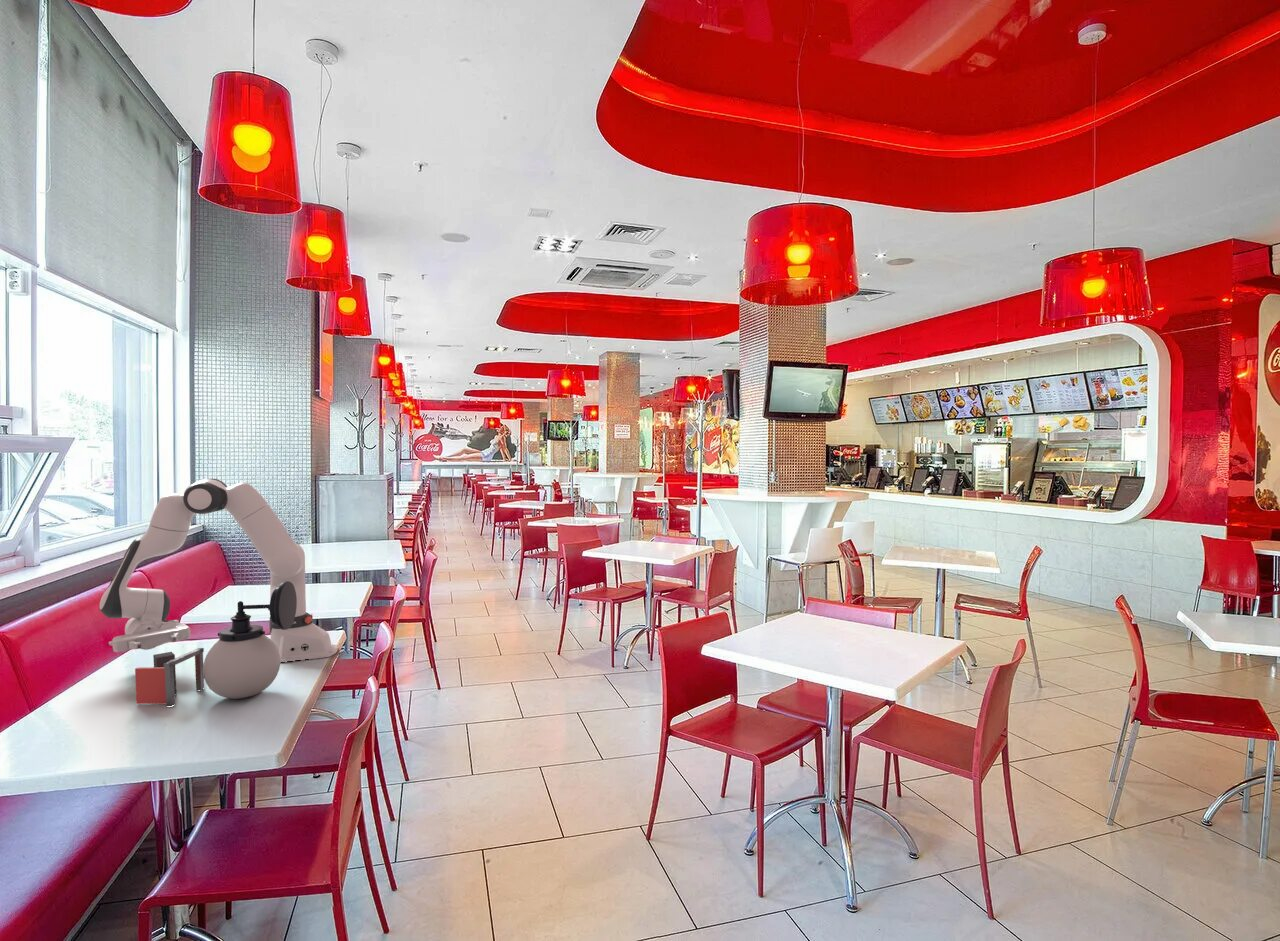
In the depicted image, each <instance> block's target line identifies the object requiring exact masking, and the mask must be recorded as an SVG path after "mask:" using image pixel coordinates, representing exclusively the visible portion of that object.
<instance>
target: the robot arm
mask: <svg viewBox="0 0 1280 941" xmlns="http://www.w3.org/2000/svg"><path fill="white" fill-rule="evenodd" d="M268 503H269V502H268V501H266V499H265V498H264V497H263V496H262V495H261V493H259V491H258V490H257V489H255V488H254V487H253V485H251V484H249V483H248V482H238V483H235V484H233V485H231V486H228V485H226V483H225V482H223V481H222V480H219V479H218V478H206V479H200V480H197V481H195V482H193V483H192V484H190V485H189V486H188V487H187V488H186V489H185V490H184V492H183V494H180V493H168V494H164V495H163V496H161V498H160V499H159V500H158V502H157V504H156V506H155V508H154V511H153V513H152V516H151V518H150V523H149V525H148V528H147V530H146V531H145V532H144V534H143V535H142V536H140V537H139V538H136V539H134V540H133V541H131V543H130V545H129V546H128V548H127V549H126V552H125V553H124V555H123V557H122V558H121V561H120V562H119V565H118V566H117V569H116V571H115V573H114V575H113V577H112V579H111V581H110V583H109V584H108V586H107V588H106V590H105V591H104V592H103V594H102V596H101V597H100V598H101V599H100V601H99V611H100V613H102V614H103V615H104V616H105V617H106V618H108V619H122V618H124V619H125V618H126V619H128V620H127V622H126V623H125V626H124V634H122V635H117V636H114V637H113V638H112V640H111V641H108V644H109V646H112V651H113V652H114V653H120V652H127V651H132V650H139V649H140V650H144V651H145V650H152V649H155V648H156V647H159V646H163V645H164V644H168V643H176V642H179V641H182V640H183V641H184V640H188V639H190V638H191V628H190V626H189V625H187V624H185V623H183V622H180V621H179V620H178V619H172V620H171V619H169V620H167V619H168V617H169V613H170V608H171V599H170V597H169V595H168V593H167V592H166V591H165V590H164V589H159V588H148V587H147V588H142V587H128V586H127V585H129V584H128V583H129V582H130V579H131V578H132V576H133V573H134V572H135V569H136V568H137V566H138V565H139V564H140V563H141V562H143V561H144V560H148V559H150V558H151V559H152V558H154V557H159V556H165V555H168V554H171V553H174V552H176V551H178V550H179V549H180V548H181V547H182V546H183V545H184V544H185V542H186V540H187V538H188V534H189V531H190V530H189V529H190V527H191V524H192V523H191V522H192V520H193V518H194V516H195V515H196V514H199V515H207V514H210V513H211V514H212V513H214V512H215V513H216V512H219V511H223V510H225V511H226V512H228V513H229V514H230V515H231V516H232V517H233V519H234V520H235V521H236V523H237V524H238V525H239V527H240V528H241V529H242V531H243V532H244V533H245V535H246V536H247V538H248V539H249V540H250V542H251V543H252V545H253V546H254V548H255V550H256V551H257V553H258V554H259V556H260V557H261V559H262V560H263V563H264V564H265V565H266V566H267V568H268V569H269V571H270V572H269V573H270V575H269V576H270V582H269V583H270V589H269V597H270V598H269V600H270V599H271V595H272V593H273V591H274V590H275V588H276V587H277V586H280V585H281V584H282V583H283V582H285V581H289V582H291V583H292V584H293V585H294V588H295V591H296V597H297V607H296V614H295V618H294V621H293V624H292V626H291V627H290V628H289V629H287V630H282V629H280V628H279V627H278V626H276V625H274V623H273V622H272V620H271V617H270V616H269V619H268V625H269V626H268V627H269V633H270V636H269V637H270V638H269V639H270V640H272V641H273V643H274V644H275V645H276V647H277V649H278V651H279V654H280V663H281V662H285V663H287V662H286V661H293V662H296V661H295V660H301V661H306V660H305V659H309V660H317V659H323V658H329V657H332V656H333V655H335V654H336V653H337V652H338V650H339V647H338V645H337V644H335V643H333V644H332V641H331V636H330V634H329V632H328V631H326V630H325V629H323V628H321V627H320V626H318V625H316V624H314V623H313V621H314V620H313V616H314V615H313V613H311V614H310V613H308V612H307V601H306V597H307V596H306V555H305V550H304V548H303V547H302V546H301V544H299V543H297V542H294V540H293V538H292V537H291V535H290V534H289V533H288V531H287V529H286V528H285V525H284V524H283V523H282V521H281V519H280V518H279V517H278V516H277V513H275V512H274V510H273V509H272V507H271V506H270V504H268Z"/></svg>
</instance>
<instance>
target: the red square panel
mask: <svg viewBox="0 0 1280 941" xmlns="http://www.w3.org/2000/svg"><path fill="white" fill-rule="evenodd" d="M134 672H135V700H136V704H137V705H138V704H140V705H141V704H143V705H145V704H146V705H147V704H152V705H155V704H159V705H160V704H163V705H164V704H166V690H165V668H164V667H154V666H153V667H152V666H151V667H148V666H147V667H146V666H145V667H136V668H134Z"/></svg>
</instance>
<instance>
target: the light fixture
mask: <svg viewBox="0 0 1280 941" xmlns="http://www.w3.org/2000/svg"><path fill="white" fill-rule="evenodd" d="M296 607H297V597H296V591H295V588H294V585H293V584H292V583H291V582H289V581H285V582H283V583H282V584H281V585H280V586H277V587H276V588H275V590H274V591H273V593H272V595H271V599H270V598H269V604H246V605H245V604H244V602H243V601H241V600H240V601H238V602H237V611H236V612H235V615H233V616H231V617H230V620H231V626H230V627H226V628H224V629H221V630H220V631H219V632H218V633H217V637H218V639H219V640H217V641H216V642H215V643H214V644H213V646H212V647H210V649H209V650H208V652H207V654H206V656H205V658H204V659H203V675H204V682H205V684H206V686H208V688H209V689H210V690H211V691H212V692H213V693H214V694H216V695H218V696H220V697H223V698H227V699H233V700H234V699H235V700H237V699H238V700H239V699H245V698H249V697H253V696H255V695H257V694H259V693H260V694H261V693H262V692H263V691H265V690H266V689H267V688H269V687H270V686H271V685H272V684H273V682H274V681H275V680H276V678H277V676H278V674H279V671H280V668H281V662H280V654H279V651H278V649H277V647H276V645H275V644H274V643H273V641H272V640H270V638H269V637H268V636H266V635H265V634H266V631H265V630H264V627H263V626H262V625H261V624H251V621H250V620H251V618H252V615H250V614H247V613H246V610H256V609H257V610H258V609H259V610H261V609H267V610H268V611H269V618H270V617H271V620H272V622H273V623H274V625H276V626H278V627H279V628H280V629H282V630H287V629H289V628H290V627H291V626H292V624H293V621H294V618H295V614H296Z"/></svg>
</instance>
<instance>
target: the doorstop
mask: <svg viewBox="0 0 1280 941" xmlns="http://www.w3.org/2000/svg"><path fill="white" fill-rule="evenodd" d="M152 657H153V667H164V663H166V662H168V661H171V660H173V659H175V658H176V655H175V653H174V652H172V651H166V652H162V653H157V654H156V653H155V654H153V655H152ZM176 677H177V674H176V665H174V692H175V694H176V695H177V678H176Z"/></svg>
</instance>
